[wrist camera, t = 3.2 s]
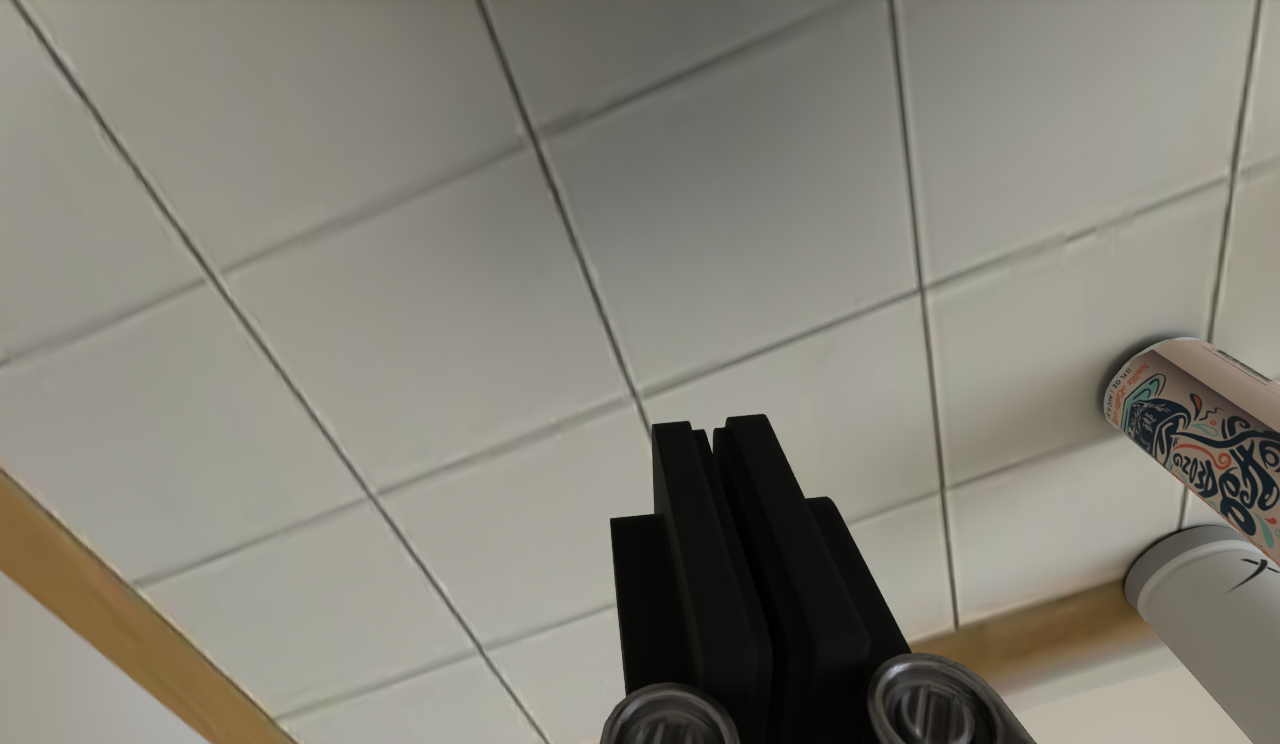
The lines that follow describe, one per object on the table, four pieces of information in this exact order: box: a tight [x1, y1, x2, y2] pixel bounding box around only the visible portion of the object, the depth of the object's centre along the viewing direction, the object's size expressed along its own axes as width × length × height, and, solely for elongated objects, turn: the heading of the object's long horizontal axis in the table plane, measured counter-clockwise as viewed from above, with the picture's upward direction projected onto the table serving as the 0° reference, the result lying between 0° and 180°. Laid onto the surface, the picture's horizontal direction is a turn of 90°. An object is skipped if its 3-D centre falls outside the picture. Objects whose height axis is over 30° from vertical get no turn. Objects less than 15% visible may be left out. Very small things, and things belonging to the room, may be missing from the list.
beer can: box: [1103, 337, 1280, 565], centre depth 24 cm, size 5×5×12 cm
